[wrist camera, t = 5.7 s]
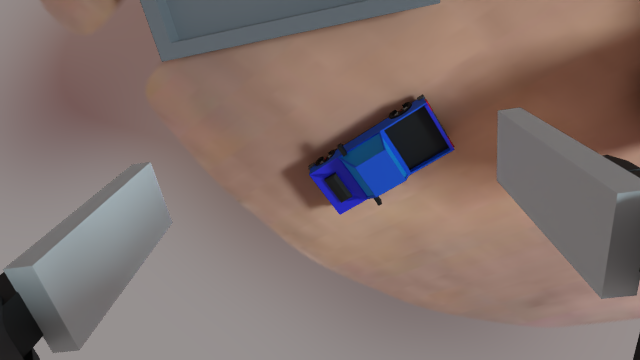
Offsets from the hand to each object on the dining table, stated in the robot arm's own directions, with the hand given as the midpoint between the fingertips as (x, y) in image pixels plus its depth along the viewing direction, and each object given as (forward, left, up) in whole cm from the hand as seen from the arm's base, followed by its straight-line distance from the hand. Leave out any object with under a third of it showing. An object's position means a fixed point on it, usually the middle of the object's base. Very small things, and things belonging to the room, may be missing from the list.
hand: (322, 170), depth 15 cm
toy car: (+8, +3, -22) cm, 23 cm away
